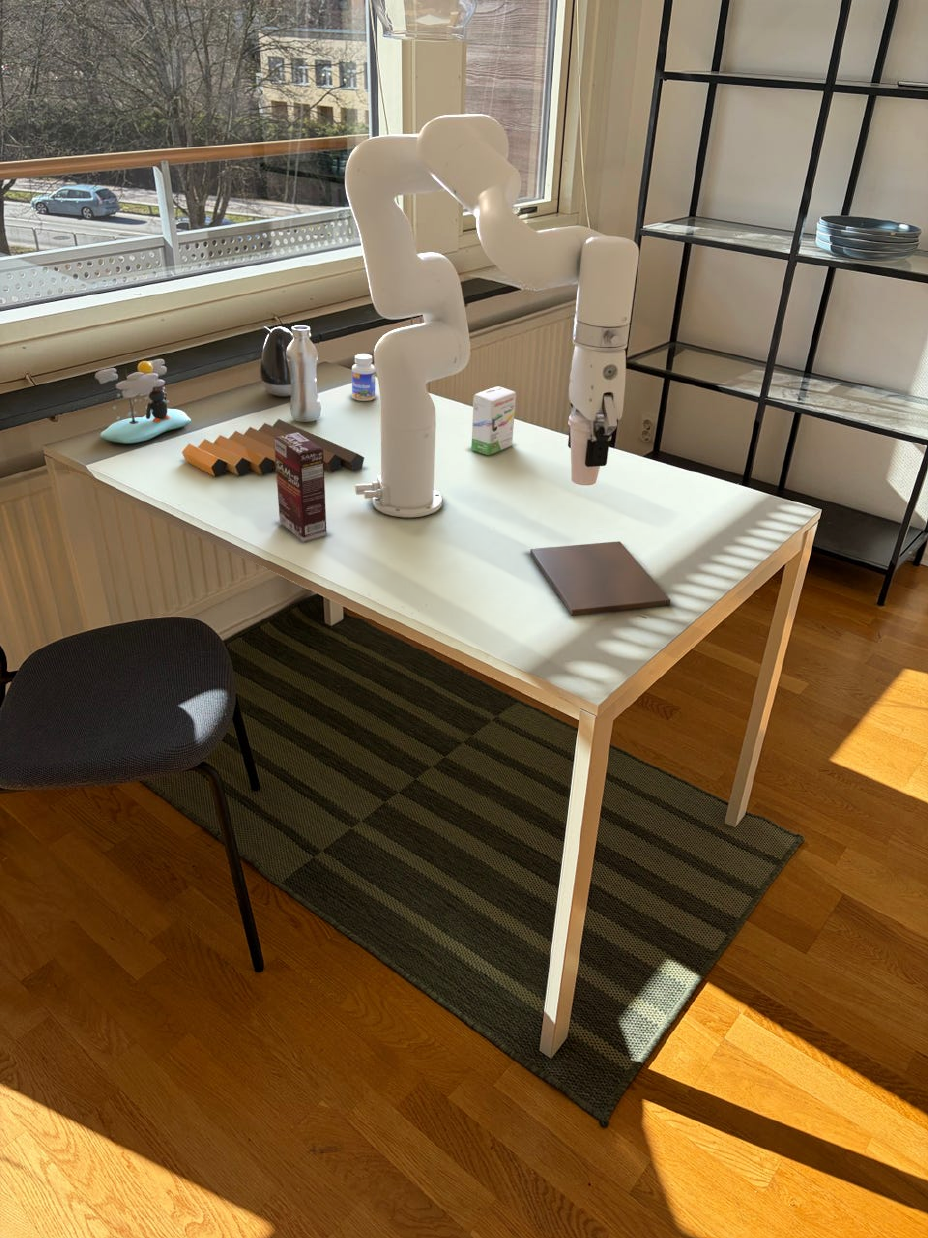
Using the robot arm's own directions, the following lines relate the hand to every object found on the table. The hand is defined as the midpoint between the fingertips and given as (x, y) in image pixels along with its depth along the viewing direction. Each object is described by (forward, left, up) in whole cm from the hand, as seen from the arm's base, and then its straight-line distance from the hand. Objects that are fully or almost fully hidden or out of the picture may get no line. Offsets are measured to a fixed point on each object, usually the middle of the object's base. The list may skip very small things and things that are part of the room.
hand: (586, 455), depth 141 cm
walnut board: (+4, 0, -21) cm, 22 cm away
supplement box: (-39, +26, -22) cm, 52 cm away
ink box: (+3, +57, -22) cm, 61 cm away
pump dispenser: (-36, +98, -22) cm, 107 cm away
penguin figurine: (-66, +77, -22) cm, 103 cm away
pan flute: (-42, +55, -22) cm, 72 cm away
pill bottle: (-18, +92, -22) cm, 96 cm away
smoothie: (0, 0, -4) cm, 4 cm away
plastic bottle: (-33, +79, -22) cm, 88 cm away
